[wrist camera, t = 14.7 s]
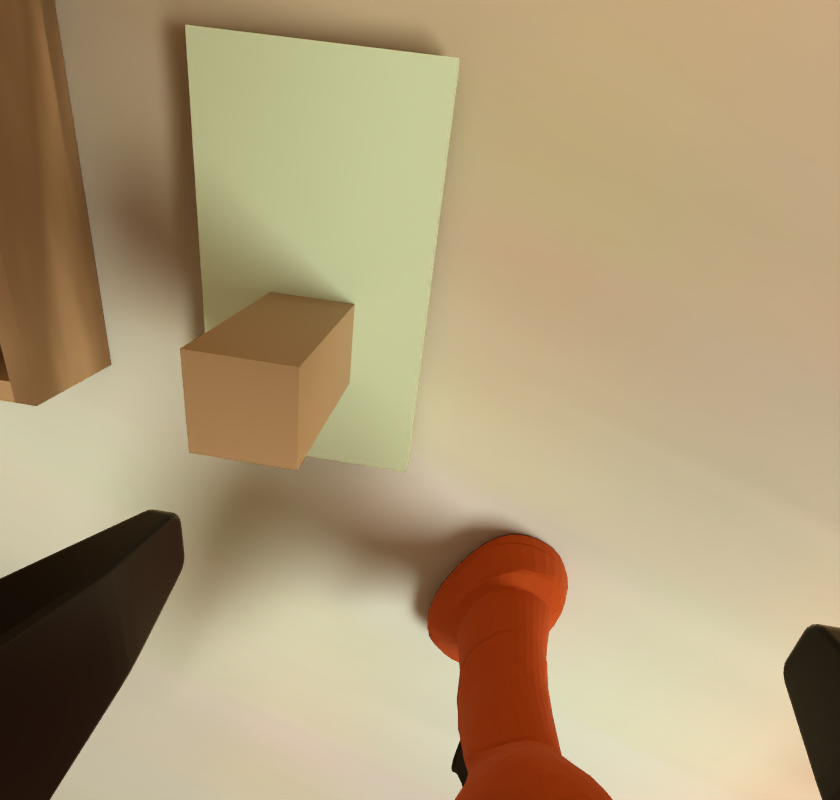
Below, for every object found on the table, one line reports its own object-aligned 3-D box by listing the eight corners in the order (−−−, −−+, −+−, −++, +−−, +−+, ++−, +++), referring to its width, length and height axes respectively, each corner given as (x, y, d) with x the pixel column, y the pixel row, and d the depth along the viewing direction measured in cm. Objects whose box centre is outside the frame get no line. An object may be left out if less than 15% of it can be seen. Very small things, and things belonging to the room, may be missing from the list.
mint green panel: (229, 422, 23) (118, 537, 16) (211, 35, 16) (17, -50, 10) (411, 451, 22) (378, 583, 15) (461, 66, 16) (443, -1, 9)
